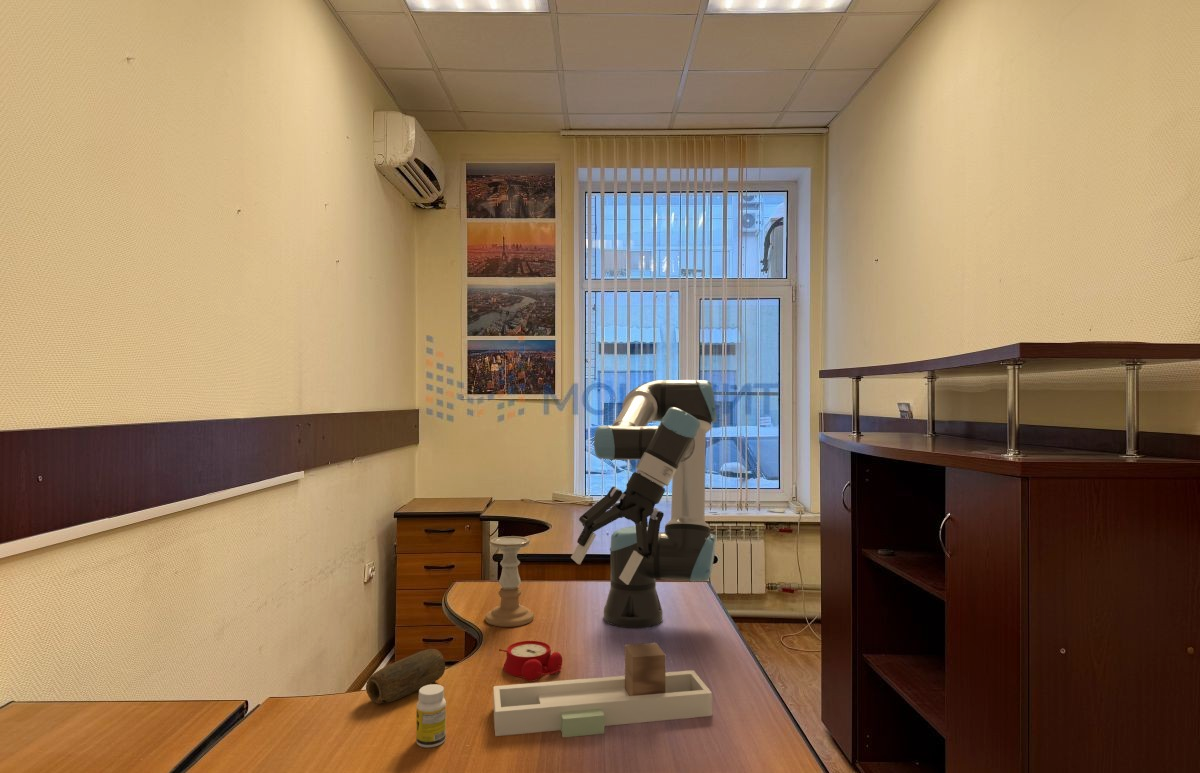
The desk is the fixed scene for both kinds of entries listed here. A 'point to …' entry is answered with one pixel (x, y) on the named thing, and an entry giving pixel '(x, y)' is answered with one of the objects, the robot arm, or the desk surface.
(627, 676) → the walnut block
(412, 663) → the hollow wooden log
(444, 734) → the supplement bottle
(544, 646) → the alarm clock
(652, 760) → the desk surface
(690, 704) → the board
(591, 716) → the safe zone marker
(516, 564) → the candle holder
